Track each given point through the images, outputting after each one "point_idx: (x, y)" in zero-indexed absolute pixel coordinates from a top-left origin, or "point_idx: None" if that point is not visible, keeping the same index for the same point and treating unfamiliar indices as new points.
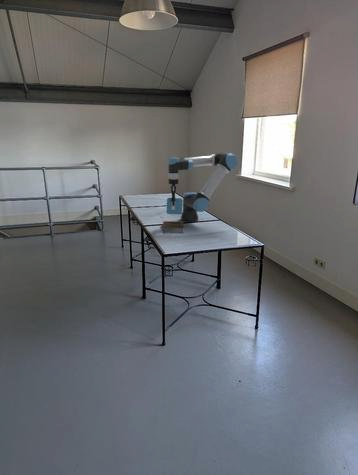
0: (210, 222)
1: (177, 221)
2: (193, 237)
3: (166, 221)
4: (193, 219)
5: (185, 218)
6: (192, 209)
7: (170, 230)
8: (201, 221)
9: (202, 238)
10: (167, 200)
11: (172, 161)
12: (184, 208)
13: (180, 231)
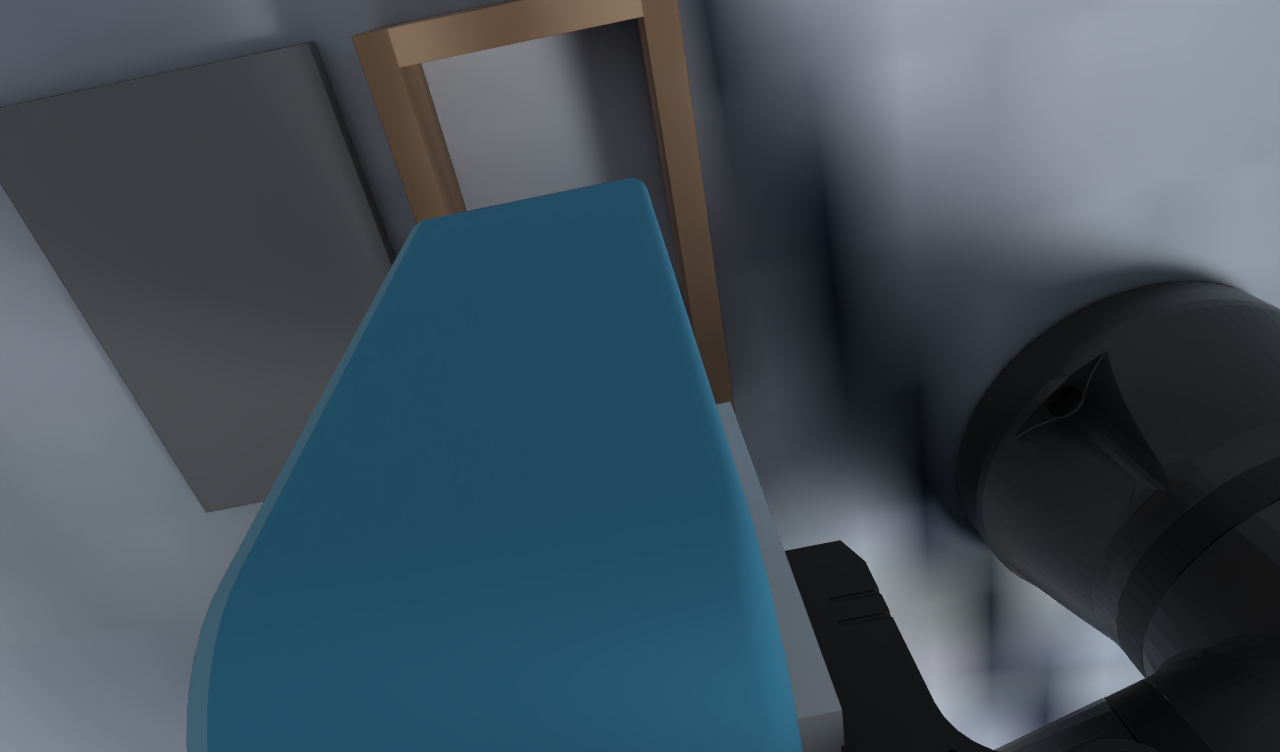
0: (938, 704)
1: (722, 341)
2: (82, 654)
3: (666, 84)
4: (987, 544)
5: (1016, 430)
6: (1147, 676)
7: (203, 276)
8: (993, 607)
9: (112, 741)
10: (216, 647)
11: None
12: (1253, 530)
13: (238, 459)
